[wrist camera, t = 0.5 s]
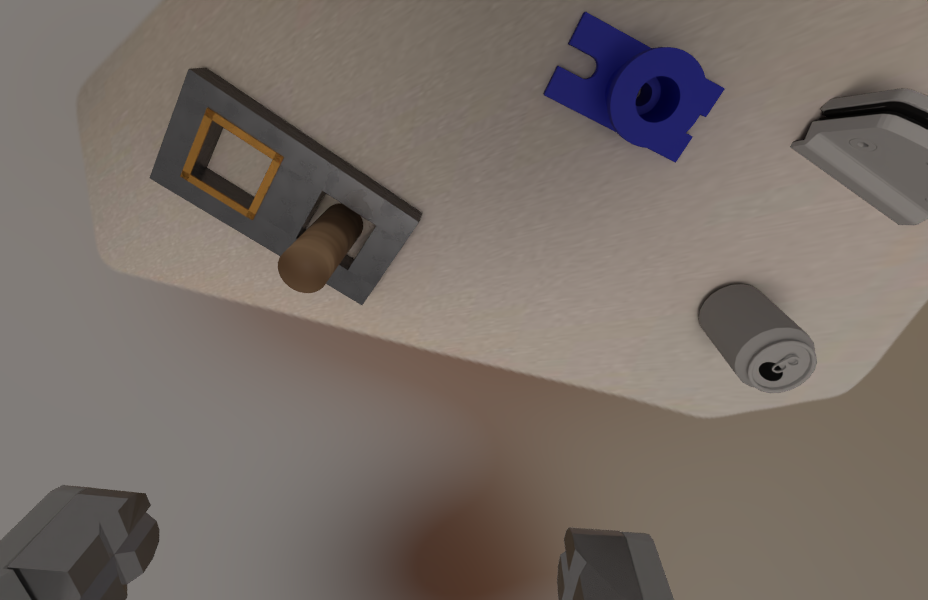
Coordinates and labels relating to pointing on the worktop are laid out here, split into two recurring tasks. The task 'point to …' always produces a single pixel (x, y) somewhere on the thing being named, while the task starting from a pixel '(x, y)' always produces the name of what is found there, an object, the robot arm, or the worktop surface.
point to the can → (758, 339)
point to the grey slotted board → (276, 180)
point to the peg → (320, 249)
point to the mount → (636, 88)
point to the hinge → (876, 150)
